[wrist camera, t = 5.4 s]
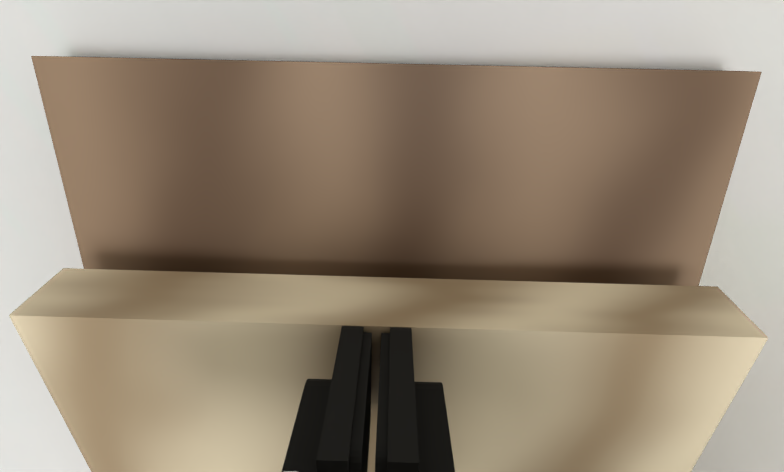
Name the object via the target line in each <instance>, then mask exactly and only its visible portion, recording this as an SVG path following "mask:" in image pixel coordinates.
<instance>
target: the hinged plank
mask: <svg viewBox="0 0 784 472" xmlns="http://www.w3.org/2000/svg"><path fill="white" fill-rule="evenodd" d="M9 316H10V318H11V320H12V322H13V324H14V326H15V328H16V330H17V332H18V333H19V335H20V337H21V339H22V341H23V343H24V345H25V347H26V349H27V350H28V352H29V354H30V356H31V358H32V360H33V362H34V364H35V366H36V367H37V369H38V371H39V373H40V375H41V377H42V379H43V381H44V383H45V385H46V386H47V388H48V390H49V392H50V394H51V396H52V398H53V400H54V402H55V403H56V405H57V407H58V409H59V411H60V413H61V415H62V417H63V419H64V420H65V422H66V424H67V426H68V428H69V430H70V432H71V434H72V436H73V437H74V439H75V441H76V443H77V445H78V447H79V449H80V451H81V453H82V455H83V456H84V458H85V460H86V462H87V464H88V466H89V468H90V470H91V472H282V468H283V464H284V461H285V457H286V453H287V449H288V446H289V442H290V438H291V434H292V431H293V427H294V423H295V419H296V416H297V412H298V408H299V404H300V401H301V397H302V393H303V389H304V386H305V383H306V380H307V379H332V375H333V370H334V365H335V359H336V354H337V349H338V344H339V338H340V333H341V328H342V326H362V327H364V332H368V333H372V365H371V422H370V440H369V455H368V470H367V472H375V453H376V432H377V412H378V392H379V372H380V351H381V333H390V327H399V328H411V329H412V346H413V363H414V381H415V382H442V384H443V389H444V396H445V403H446V410H447V417H448V425H449V432H450V439H451V446H452V453H453V460H454V467H455V472H691V471H692V469H693V467H694V466H695V464H696V462H697V460H698V459H699V457H700V455H701V453H702V452H703V450H704V448H705V447H706V445H707V443H708V441H709V440H710V438H711V436H712V434H713V433H714V431H715V429H716V428H717V426H718V424H719V422H720V421H721V419H722V417H723V415H724V414H725V412H726V410H727V409H728V407H729V405H730V403H731V402H732V400H733V398H734V396H735V395H736V393H737V391H738V390H739V388H740V386H741V384H742V383H743V381H744V379H745V377H746V376H747V374H748V372H749V371H750V369H751V367H752V365H753V364H754V362H755V360H756V358H757V357H758V355H759V353H760V352H761V350H762V348H763V346H764V345H765V343H766V341H767V339H768V337H767V336H766V335H765V334H764V333H763V332H762V331H761V330H760V329H759V328H758V327H757V326H756V325H755V324H754V323H753V322H752V321H751V320H750V319H749V318H748V317H747V316H746V315H745V314H744V313H743V312H742V311H741V310H740V309H739V308H738V307H737V306H736V305H735V304H734V303H733V302H732V301H731V300H730V299H729V298H728V297H727V296H726V295H725V294H724V293H723V292H722V291H721V290H720V289H719V288H718V287H711V286H675V285H640V284H604V283H569V282H533V281H498V280H462V279H427V278H391V277H356V276H320V275H285V274H249V273H214V272H178V271H143V270H107V269H72V268H63V269H62V270H61V271H60V272H59V273H57V274H56V275H55V276H54V277H53V278H52V279H50V280H49V281H48V282H47V283H46V284H45V285H44V286H42V287H41V288H40V289H39V290H38V291H37V292H35V293H34V294H33V295H32V296H31V297H30V298H28V299H27V300H26V301H25V302H24V303H23V304H22V305H20V306H19V307H18V308H17V309H16V310H15V311H13V312H12V313H11V314H10V315H9Z"/></svg>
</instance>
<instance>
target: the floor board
mask: <svg viewBox="0 0 784 472" xmlns="http://www.w3.org/2000/svg"><path fill="white" fill-rule="evenodd" d="M31 57H32V61H33V65H34V69H35V73H36V77H37V81H38V85H39V89H40V93H41V97H42V101H43V105H44V109H45V113H46V117H47V121H48V125H49V129H50V133H51V137H52V141H53V145H54V149H55V153H56V157H57V161H58V165H59V170H60V174H61V178H62V182H63V186H64V190H65V194H66V198H67V202H68V206H69V210H70V214H71V218H72V222H73V226H74V230H75V234H76V238H77V242H78V246H79V250H80V254H81V258H82V262H83V266H84V269H107V270H143V271H178V272H214V273H249V274H285V275H320V276H356V277H391V278H427V279H462V280H498V281H533V282H569V283H604V284H640V285H675V286H698V285H699V282H700V278H701V275H702V272H703V268H704V265H705V262H706V258H707V255H708V251H709V248H710V245H711V241H712V238H713V234H714V231H715V228H716V224H717V221H718V218H719V214H720V211H721V207H722V204H723V201H724V197H725V194H726V190H727V187H728V184H729V180H730V177H731V174H732V170H733V167H734V163H735V160H736V157H737V153H738V150H739V146H740V143H741V140H742V136H743V133H744V130H745V126H746V123H747V119H748V116H749V113H750V109H751V106H752V102H753V99H754V96H755V92H756V89H757V86H758V82H759V79H760V75H761V72H750V71H713V70H666V69H620V68H573V67H527V66H480V65H434V64H387V63H341V62H294V61H248V60H201V59H155V58H108V57H58V56H31Z"/></svg>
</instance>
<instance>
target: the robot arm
mask: <svg viewBox="0 0 784 472" xmlns="http://www.w3.org/2000/svg"><path fill="white" fill-rule="evenodd" d="M371 365H372V333H368V332H364V327H362V326H342V328H341V333H340V338H339V344H338V349H337V354H336V359H335V365H334V370H333V375H332V379H307V380H306V383H305V386H304V389H303V393H302V397H301V401H300V404H299V408H298V412H297V416H296V419H295V423H294V427H293V431H292V434H291V438H290V442H289V446H288V449H287V453H286V457H285V461H284V464H283V468H282V472H367V470H368V455H369V440H370V422H371ZM375 472H455V467H454V460H453V453H452V446H451V439H450V432H449V425H448V417H447V410H446V403H445V396H444V389H443V384H442V382H415V381H414V363H413V346H412V329H411V328H399V327H390V333H381V351H380V372H379V392H378V412H377V432H376V453H375Z"/></svg>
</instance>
